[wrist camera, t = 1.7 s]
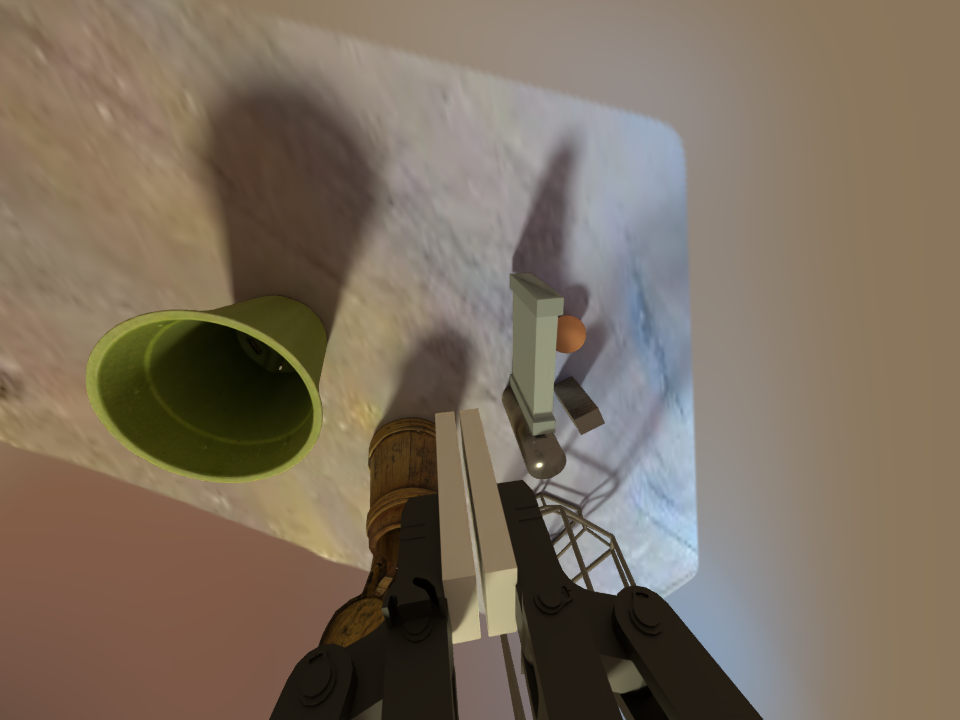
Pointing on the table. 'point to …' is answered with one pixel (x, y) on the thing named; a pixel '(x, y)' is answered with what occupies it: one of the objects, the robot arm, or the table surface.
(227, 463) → the plant pot
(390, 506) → the wooden mug
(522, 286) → the grey-green flanged panel
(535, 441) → the hinge post
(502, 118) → the table surface
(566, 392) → the block
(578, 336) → the ball
